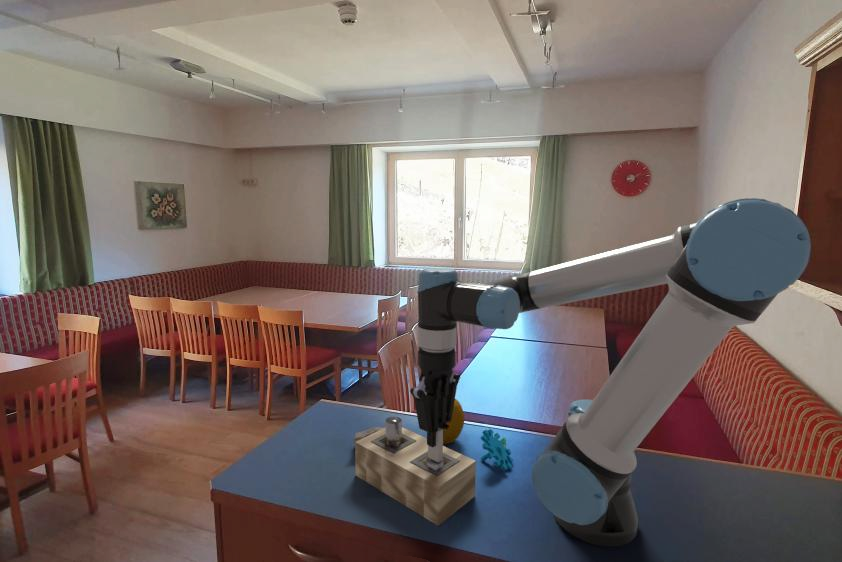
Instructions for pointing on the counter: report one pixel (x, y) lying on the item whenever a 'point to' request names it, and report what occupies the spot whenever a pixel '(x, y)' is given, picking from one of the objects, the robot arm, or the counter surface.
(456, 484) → the socket block
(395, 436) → the steel peg far
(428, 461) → the steel peg near
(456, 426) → the apple
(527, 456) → the counter surface
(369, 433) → the stone
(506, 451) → the teal knobby branched piece
